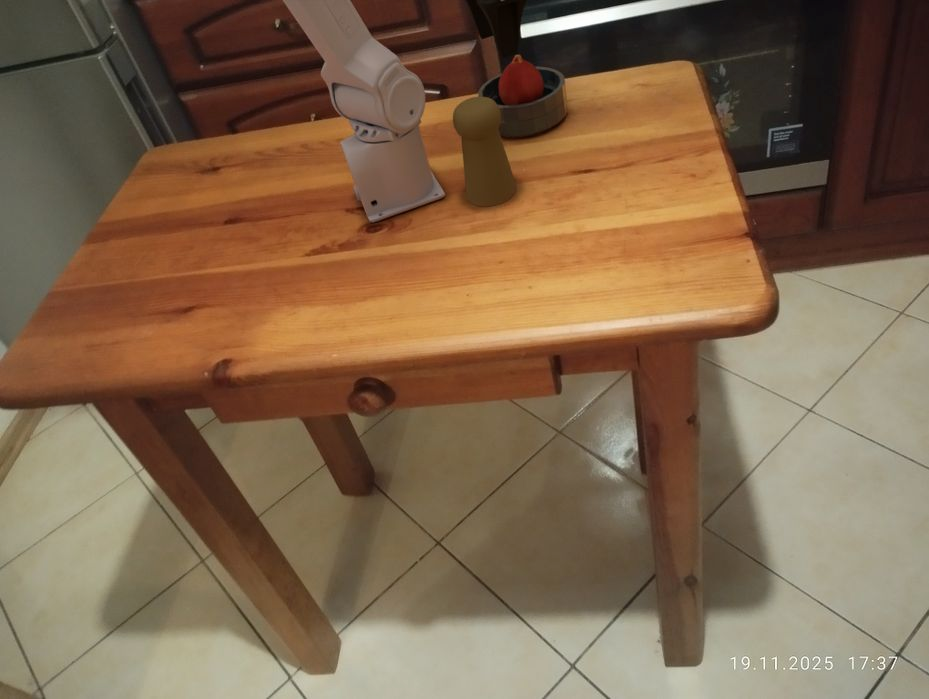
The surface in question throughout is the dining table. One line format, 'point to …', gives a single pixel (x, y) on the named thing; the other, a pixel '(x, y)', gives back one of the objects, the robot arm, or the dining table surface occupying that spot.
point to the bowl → (530, 106)
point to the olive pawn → (483, 152)
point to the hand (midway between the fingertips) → (498, 45)
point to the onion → (520, 83)
